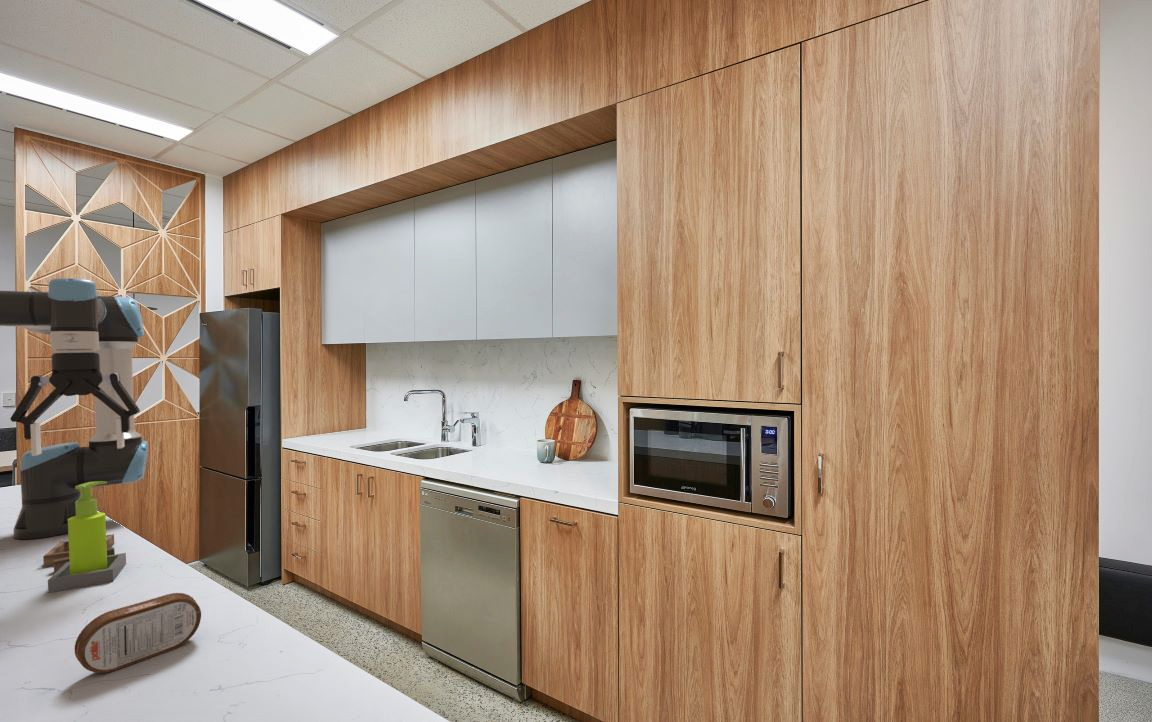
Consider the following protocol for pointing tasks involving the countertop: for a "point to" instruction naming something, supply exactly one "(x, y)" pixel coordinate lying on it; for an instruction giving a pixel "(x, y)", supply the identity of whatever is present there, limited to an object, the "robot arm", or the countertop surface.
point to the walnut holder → (67, 551)
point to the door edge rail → (60, 562)
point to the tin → (137, 632)
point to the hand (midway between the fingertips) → (80, 451)
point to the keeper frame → (86, 575)
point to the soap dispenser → (87, 533)
